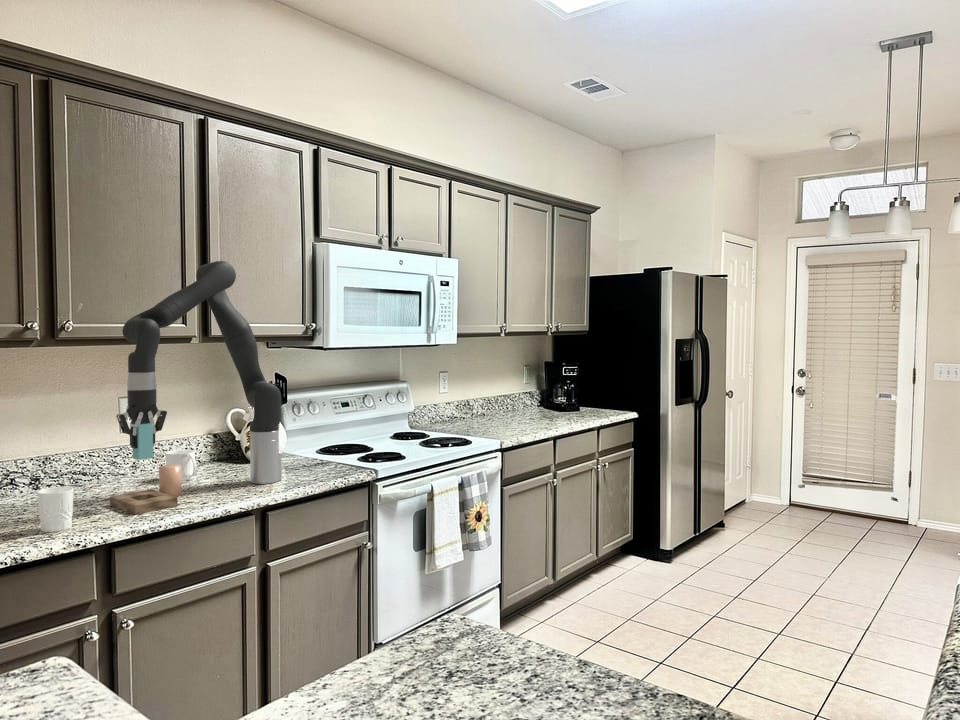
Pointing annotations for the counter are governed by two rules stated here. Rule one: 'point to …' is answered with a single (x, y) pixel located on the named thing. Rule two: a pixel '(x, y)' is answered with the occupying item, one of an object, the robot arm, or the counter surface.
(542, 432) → the counter surface
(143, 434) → the square peg
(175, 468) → the round peg
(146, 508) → the board
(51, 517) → the white cup
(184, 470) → the mug
